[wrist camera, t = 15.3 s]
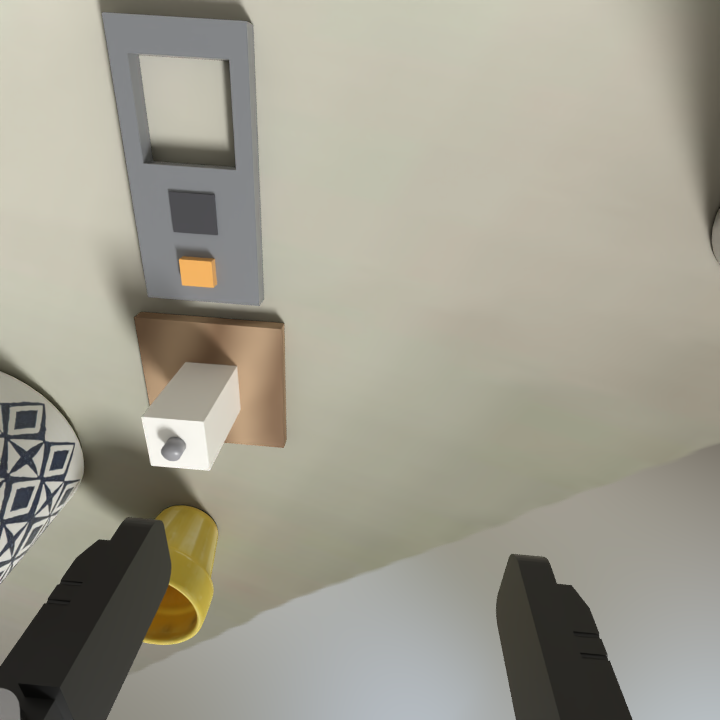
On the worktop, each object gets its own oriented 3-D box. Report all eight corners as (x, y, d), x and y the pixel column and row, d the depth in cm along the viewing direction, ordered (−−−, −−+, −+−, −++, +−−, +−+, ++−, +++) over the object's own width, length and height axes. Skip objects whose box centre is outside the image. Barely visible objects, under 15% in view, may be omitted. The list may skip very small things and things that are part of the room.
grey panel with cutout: (253, 24, 30) (242, 19, 28) (264, 298, 38) (256, 309, 36) (114, 16, 30) (94, 10, 28) (156, 290, 39) (143, 300, 37)
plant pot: (123, 530, 52) (70, 613, 44) (165, 474, 48) (115, 555, 40) (206, 572, 55) (171, 659, 46) (252, 523, 51) (223, 609, 42)
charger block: (237, 365, 40) (198, 430, 32) (240, 409, 42) (205, 479, 34) (185, 362, 40) (134, 425, 32) (191, 405, 42) (144, 474, 35)
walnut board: (284, 323, 39) (281, 329, 38) (286, 439, 45) (283, 447, 44) (140, 311, 40) (133, 317, 39) (161, 428, 45) (155, 436, 44)
